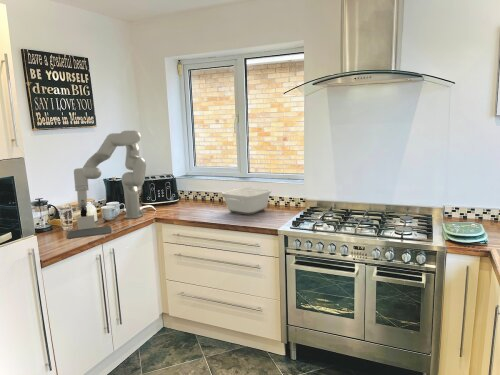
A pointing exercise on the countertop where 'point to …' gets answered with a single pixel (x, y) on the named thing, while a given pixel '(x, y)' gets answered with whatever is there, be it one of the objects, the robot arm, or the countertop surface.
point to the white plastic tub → (246, 200)
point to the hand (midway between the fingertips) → (84, 214)
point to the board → (86, 222)
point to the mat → (89, 232)
